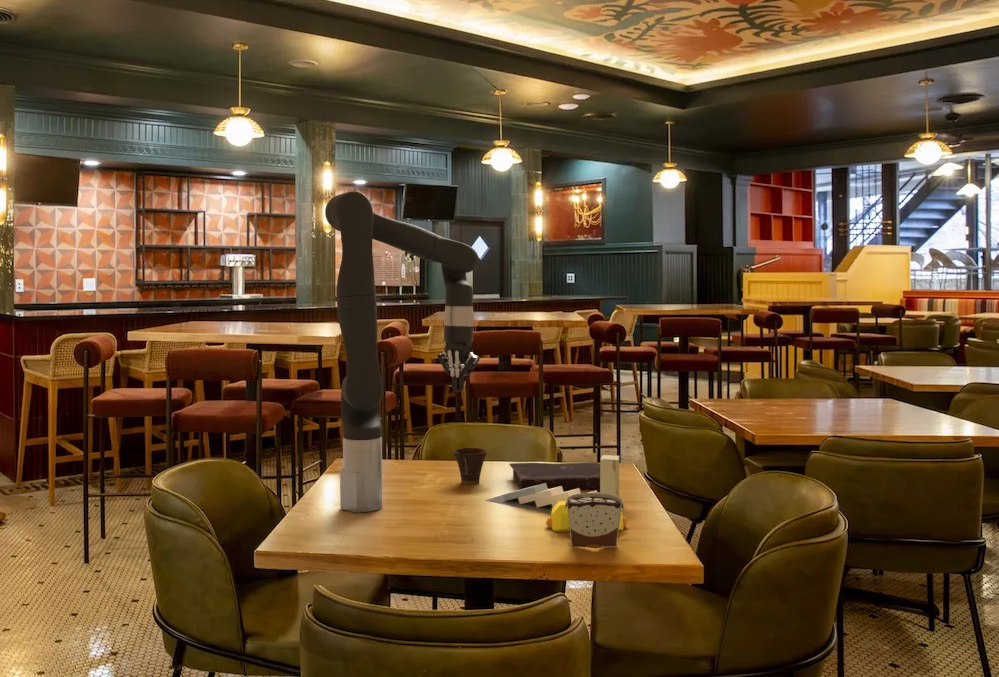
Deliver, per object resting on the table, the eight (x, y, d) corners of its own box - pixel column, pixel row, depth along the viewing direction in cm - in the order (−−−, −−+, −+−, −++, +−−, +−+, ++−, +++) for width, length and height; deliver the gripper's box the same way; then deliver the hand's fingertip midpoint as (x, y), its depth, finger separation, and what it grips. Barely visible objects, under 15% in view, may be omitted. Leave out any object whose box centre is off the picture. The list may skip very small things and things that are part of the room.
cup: (496, 484, 225) (491, 447, 224) (465, 491, 222) (459, 454, 221) (484, 478, 233) (479, 443, 232) (454, 485, 230) (449, 449, 229)
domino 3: (537, 507, 202) (569, 498, 196) (535, 501, 202) (567, 491, 196) (549, 503, 206) (581, 494, 200) (547, 497, 206) (579, 487, 200)
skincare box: (617, 510, 201) (618, 460, 201) (599, 509, 202) (599, 459, 201) (619, 504, 208) (619, 454, 207) (601, 503, 208) (602, 454, 208)
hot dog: (630, 535, 182) (624, 525, 190) (630, 505, 182) (624, 496, 189) (547, 536, 182) (544, 526, 189) (547, 505, 181) (544, 496, 189)
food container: (618, 538, 180) (619, 492, 179) (624, 547, 173) (624, 499, 173) (561, 538, 179) (561, 492, 179) (564, 547, 173) (564, 499, 172)
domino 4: (553, 510, 199) (587, 501, 193) (551, 503, 199) (585, 494, 193) (565, 505, 203) (598, 496, 197) (563, 499, 203) (596, 490, 197)
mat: (569, 520, 193) (569, 517, 193) (485, 502, 208) (485, 500, 208) (592, 511, 201) (592, 508, 201) (509, 494, 216) (509, 492, 216)
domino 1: (504, 500, 208) (535, 493, 202) (503, 494, 208) (534, 486, 202) (517, 497, 212) (547, 489, 206) (515, 490, 212) (546, 482, 206)
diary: (615, 494, 220) (615, 475, 220) (520, 498, 216) (521, 479, 216) (595, 477, 239) (595, 459, 238) (508, 480, 235) (508, 462, 234)
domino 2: (519, 504, 205) (551, 496, 199) (518, 497, 205) (549, 489, 199) (532, 500, 209) (563, 492, 203) (530, 493, 209) (561, 485, 203)
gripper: (429, 323, 216) (428, 390, 218) (468, 325, 208) (467, 395, 209) (449, 322, 222) (448, 388, 223) (488, 324, 214) (486, 392, 215)
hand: (457, 391), depth 216 cm, fingers closed
